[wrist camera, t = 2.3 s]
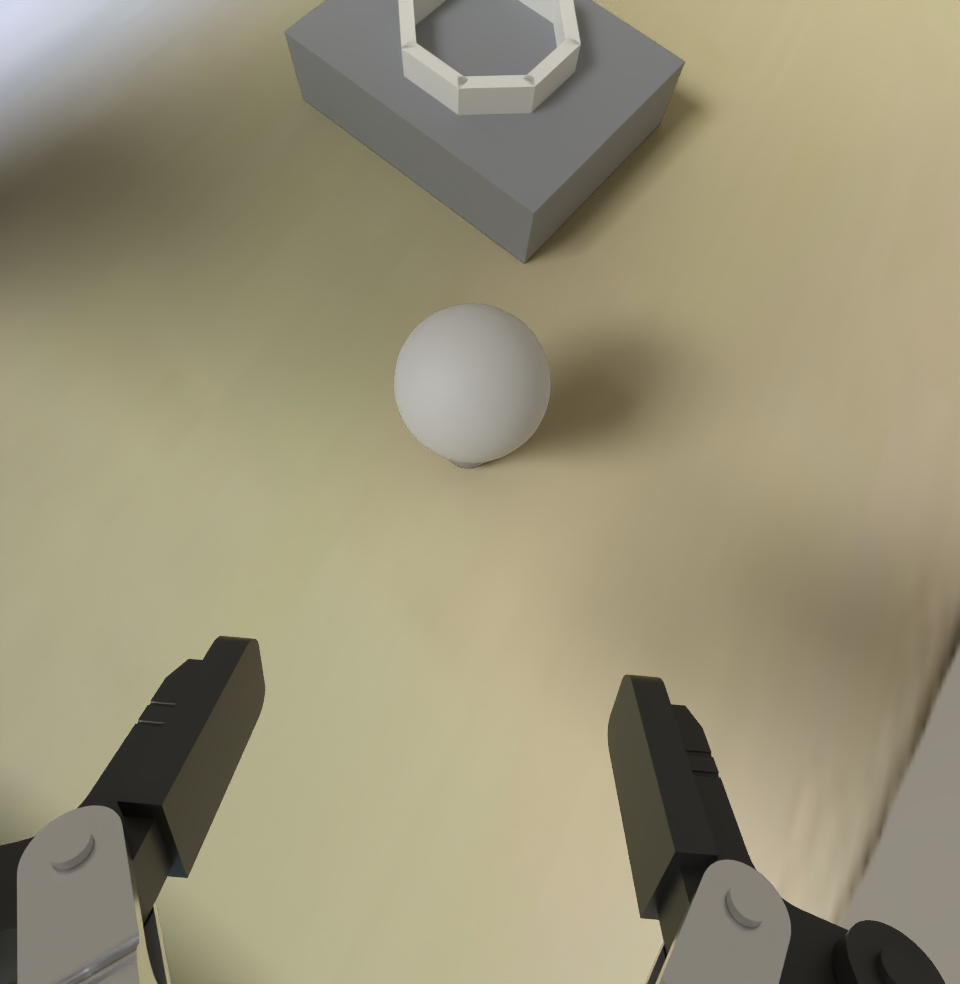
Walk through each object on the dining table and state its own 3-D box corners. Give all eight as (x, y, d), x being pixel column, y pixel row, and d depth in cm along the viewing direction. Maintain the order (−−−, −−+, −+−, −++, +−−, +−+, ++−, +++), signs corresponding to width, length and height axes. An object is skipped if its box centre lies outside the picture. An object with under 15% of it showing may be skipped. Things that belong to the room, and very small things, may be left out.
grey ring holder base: (303, 99, 35) (275, 1, 29) (448, -19, 38) (447, -126, 32) (524, 263, 32) (537, 190, 27) (660, 124, 35) (696, 33, 30)
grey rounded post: (540, 421, 30) (588, 304, 19) (501, 523, 28) (528, 457, 18) (436, 381, 30) (426, 244, 19) (392, 480, 29) (354, 390, 18)
